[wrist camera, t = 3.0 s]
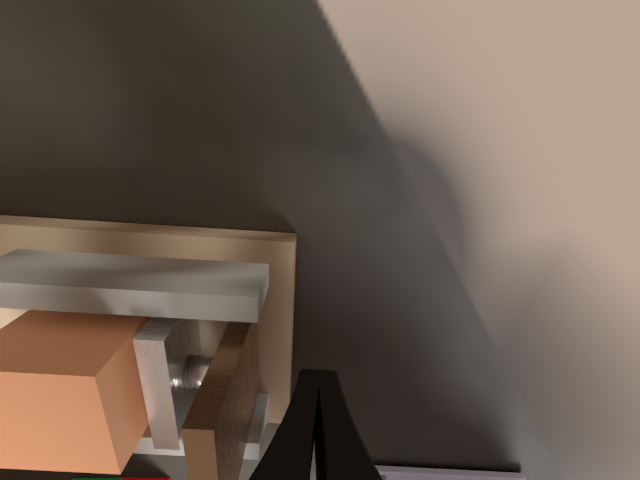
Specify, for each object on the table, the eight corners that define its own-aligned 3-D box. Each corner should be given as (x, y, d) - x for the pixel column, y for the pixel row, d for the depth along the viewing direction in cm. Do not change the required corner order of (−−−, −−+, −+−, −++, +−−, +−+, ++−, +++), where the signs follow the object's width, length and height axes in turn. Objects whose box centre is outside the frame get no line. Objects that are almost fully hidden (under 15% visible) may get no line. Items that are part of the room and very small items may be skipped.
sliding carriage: (257, 298, 13) (213, 424, 8) (258, 393, 15) (224, 545, 10) (171, 293, 13) (67, 416, 8) (183, 389, 15) (108, 540, 10)
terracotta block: (164, 295, 13) (94, 376, 9) (175, 375, 15) (120, 474, 11) (59, 289, 13) (-59, 368, 9) (82, 370, 15) (-9, 467, 11)
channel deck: (296, 233, 13) (288, 272, 10) (290, 406, 17) (282, 476, 14) (-79, 209, 13) (-211, 242, 10) (-2, 391, 17) (-80, 457, 14)
